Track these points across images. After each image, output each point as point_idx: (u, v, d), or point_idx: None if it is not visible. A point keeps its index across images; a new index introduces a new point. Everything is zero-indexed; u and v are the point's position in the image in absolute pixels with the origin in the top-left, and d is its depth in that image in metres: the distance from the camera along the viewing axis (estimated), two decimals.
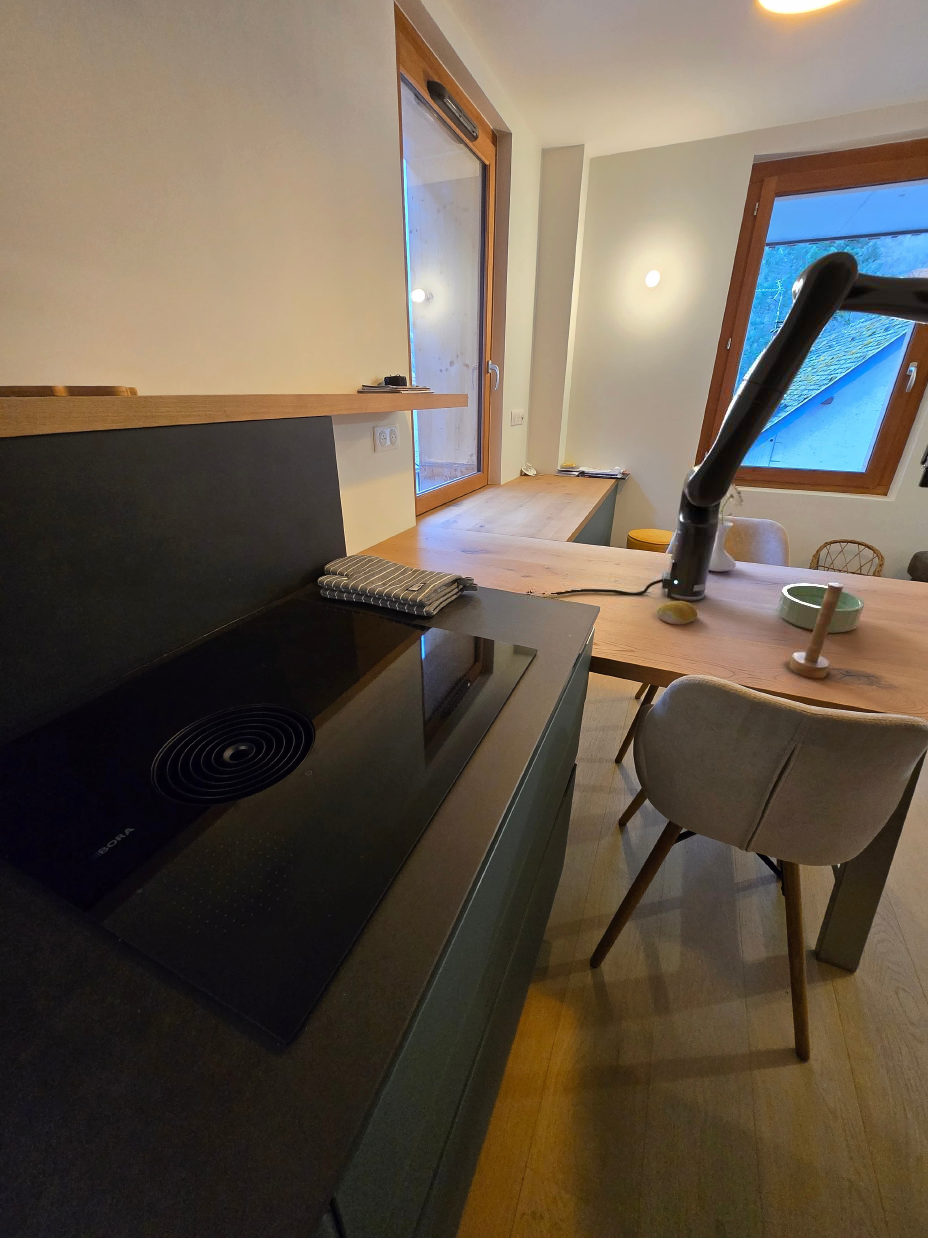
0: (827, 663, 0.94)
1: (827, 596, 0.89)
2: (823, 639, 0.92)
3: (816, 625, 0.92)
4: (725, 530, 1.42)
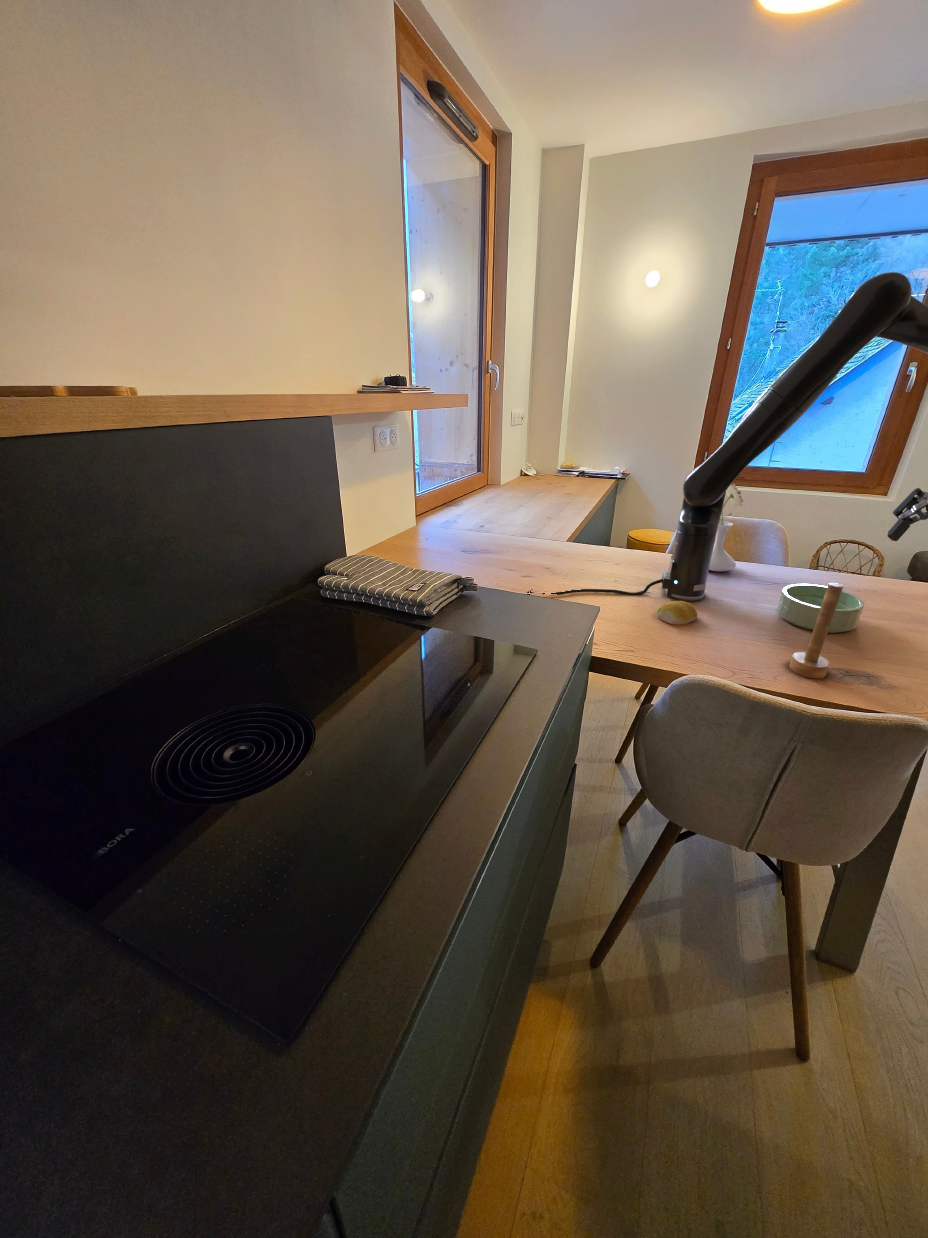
0: (827, 663, 0.94)
1: (827, 596, 0.89)
2: (823, 639, 0.92)
3: (816, 625, 0.92)
4: (725, 530, 1.42)
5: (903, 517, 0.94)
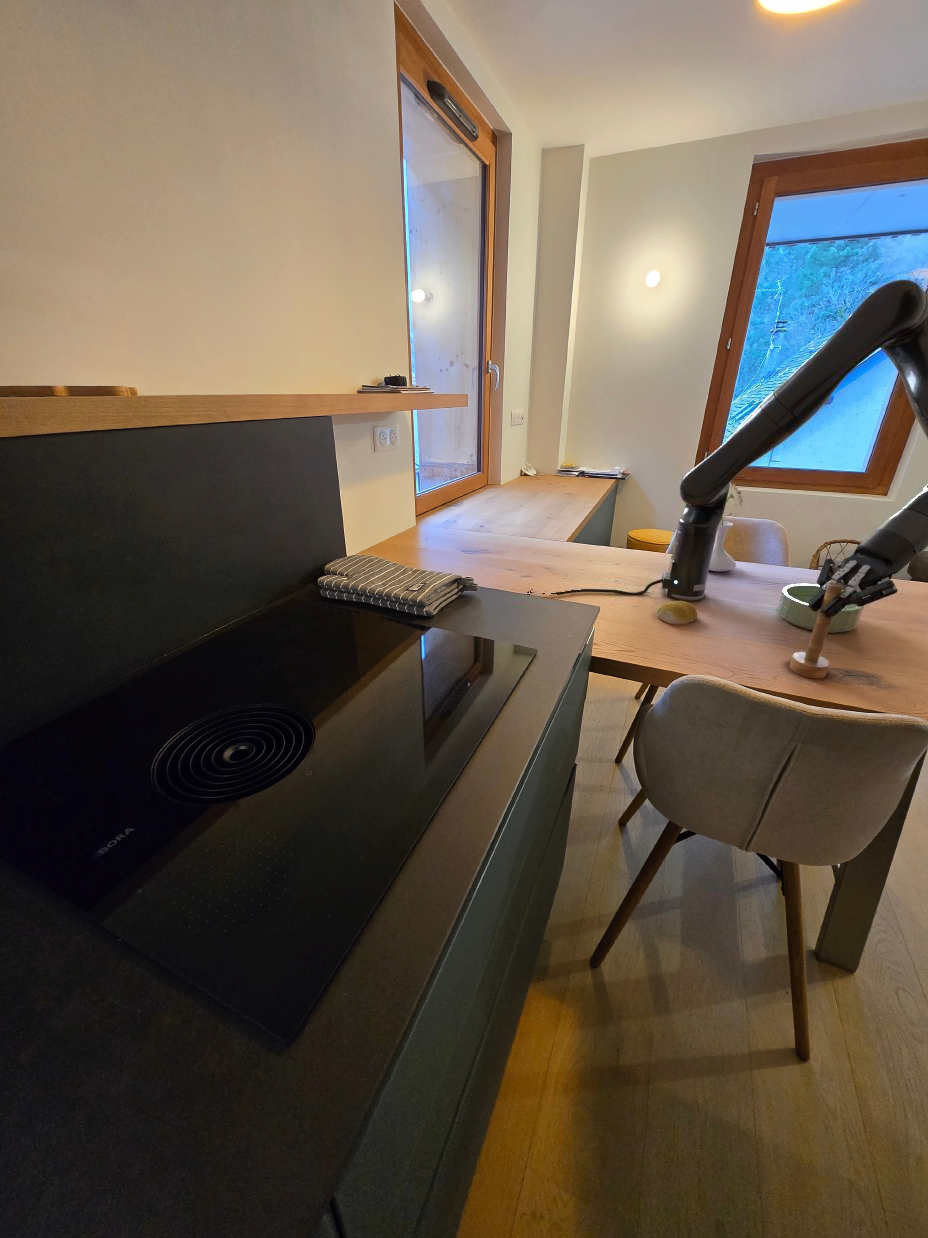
0: (827, 663, 0.94)
1: (827, 596, 0.89)
2: (823, 639, 0.92)
3: (816, 625, 0.92)
4: (725, 530, 1.42)
5: (826, 589, 0.90)
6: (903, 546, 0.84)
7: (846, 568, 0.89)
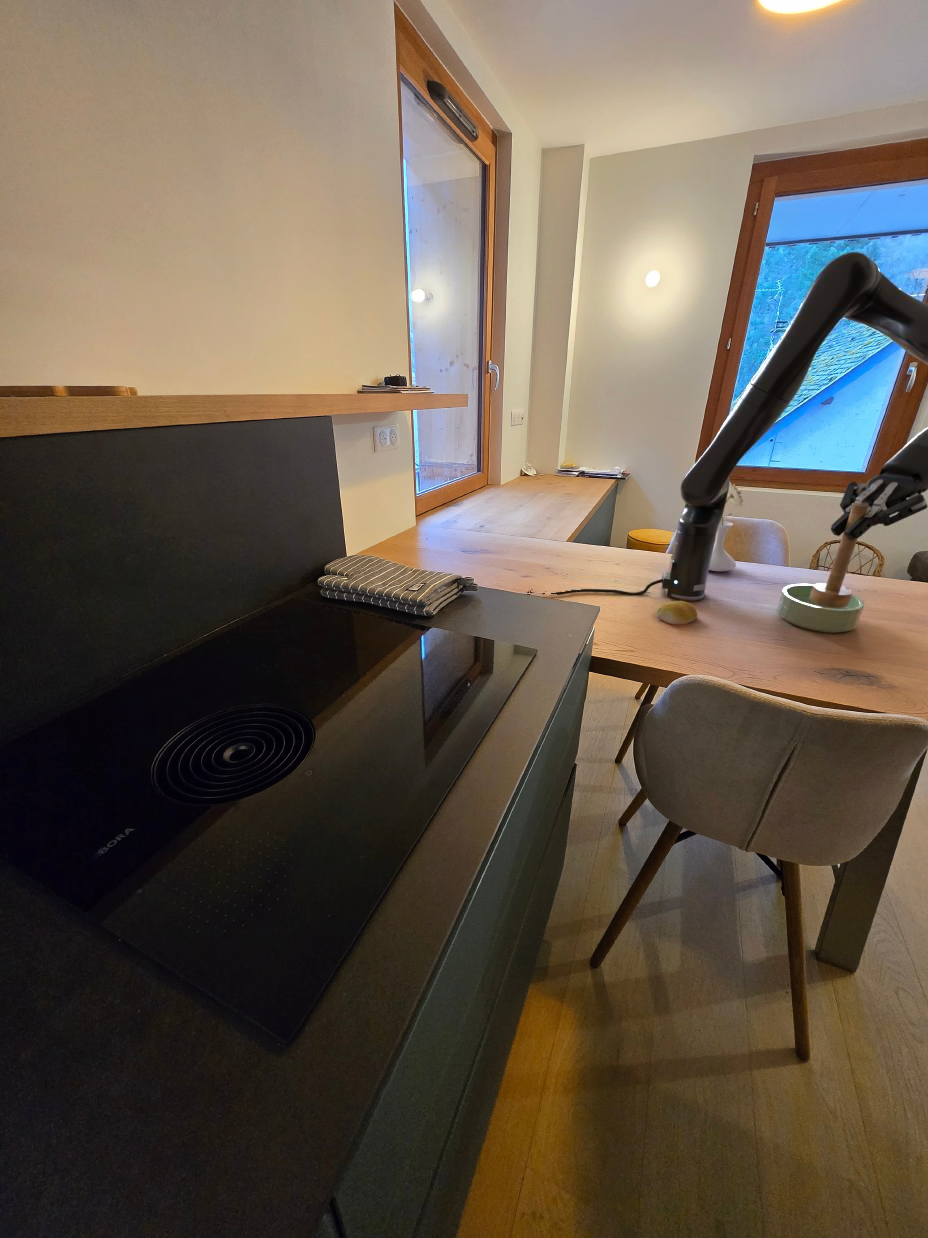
0: (850, 591, 0.89)
1: (851, 517, 0.85)
2: (846, 565, 0.88)
3: (839, 550, 0.88)
4: (725, 530, 1.42)
5: (850, 510, 0.86)
6: None
7: (872, 488, 0.85)
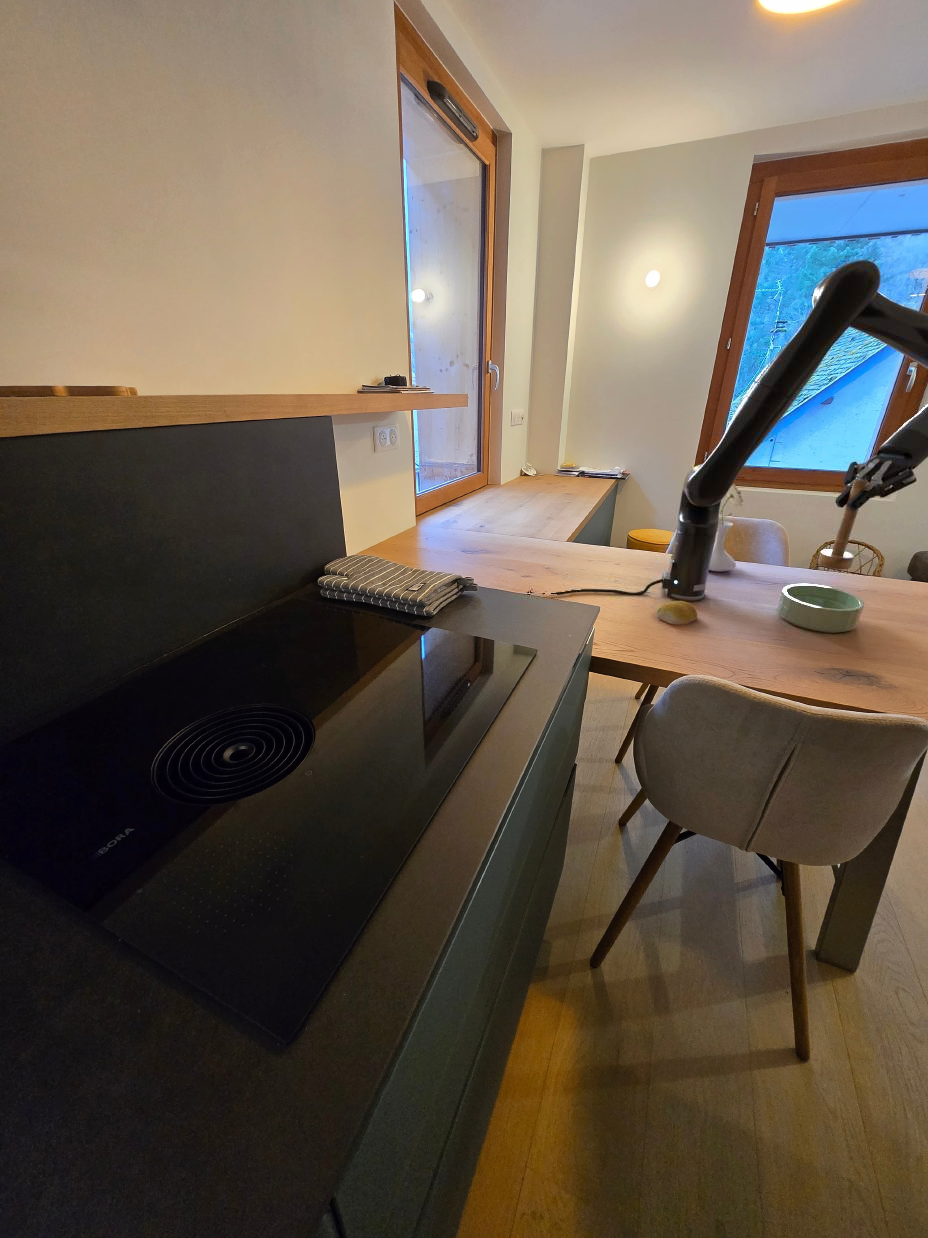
0: (852, 555, 1.04)
1: (853, 491, 1.00)
2: (849, 532, 1.03)
3: (842, 520, 1.03)
4: (725, 530, 1.42)
5: (851, 486, 1.01)
6: (921, 441, 0.95)
7: (870, 466, 1.00)
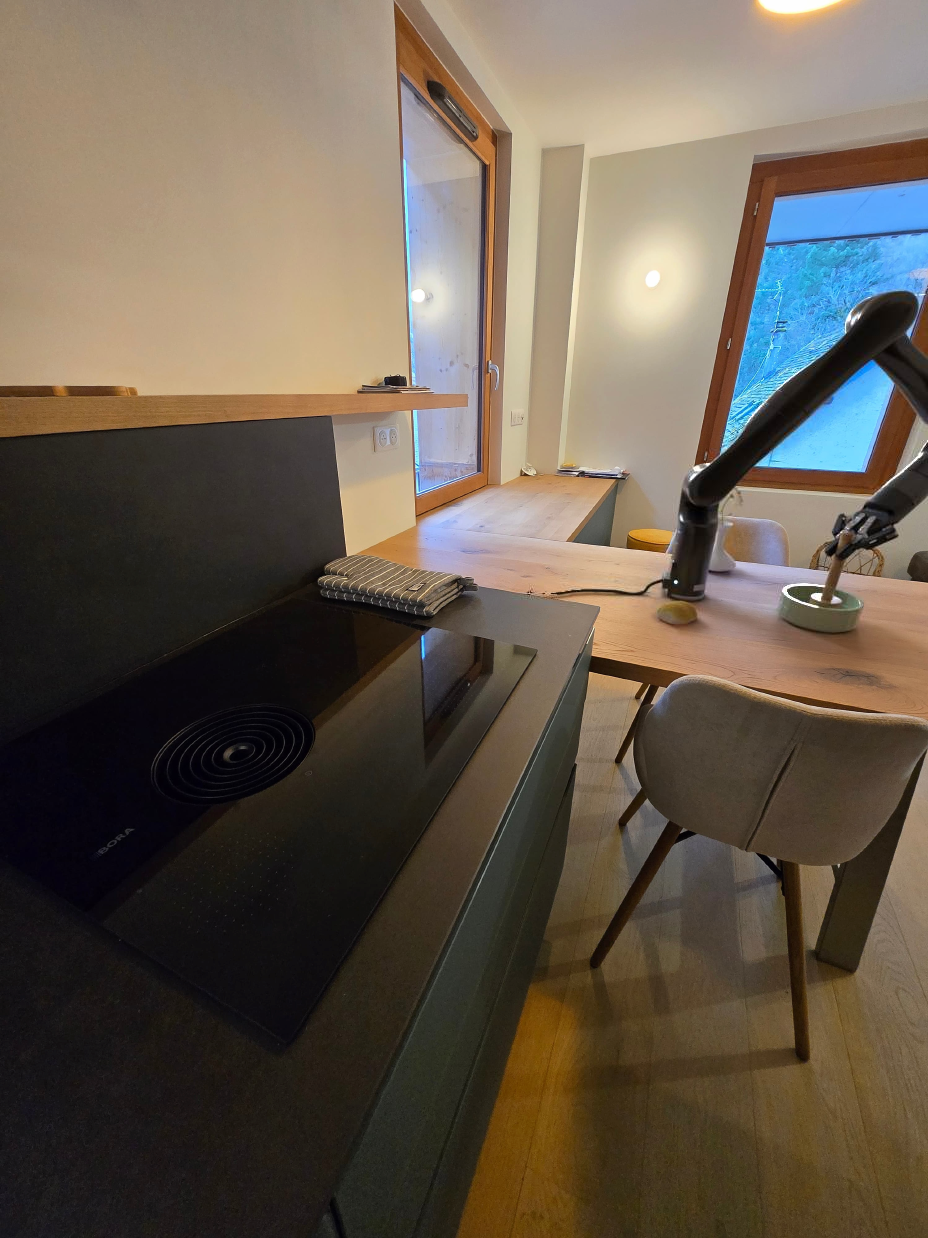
0: (840, 601, 1.12)
1: (840, 543, 1.08)
2: (837, 580, 1.11)
3: (831, 568, 1.11)
4: (725, 530, 1.42)
5: (839, 537, 1.09)
6: (903, 499, 1.03)
7: (856, 520, 1.08)
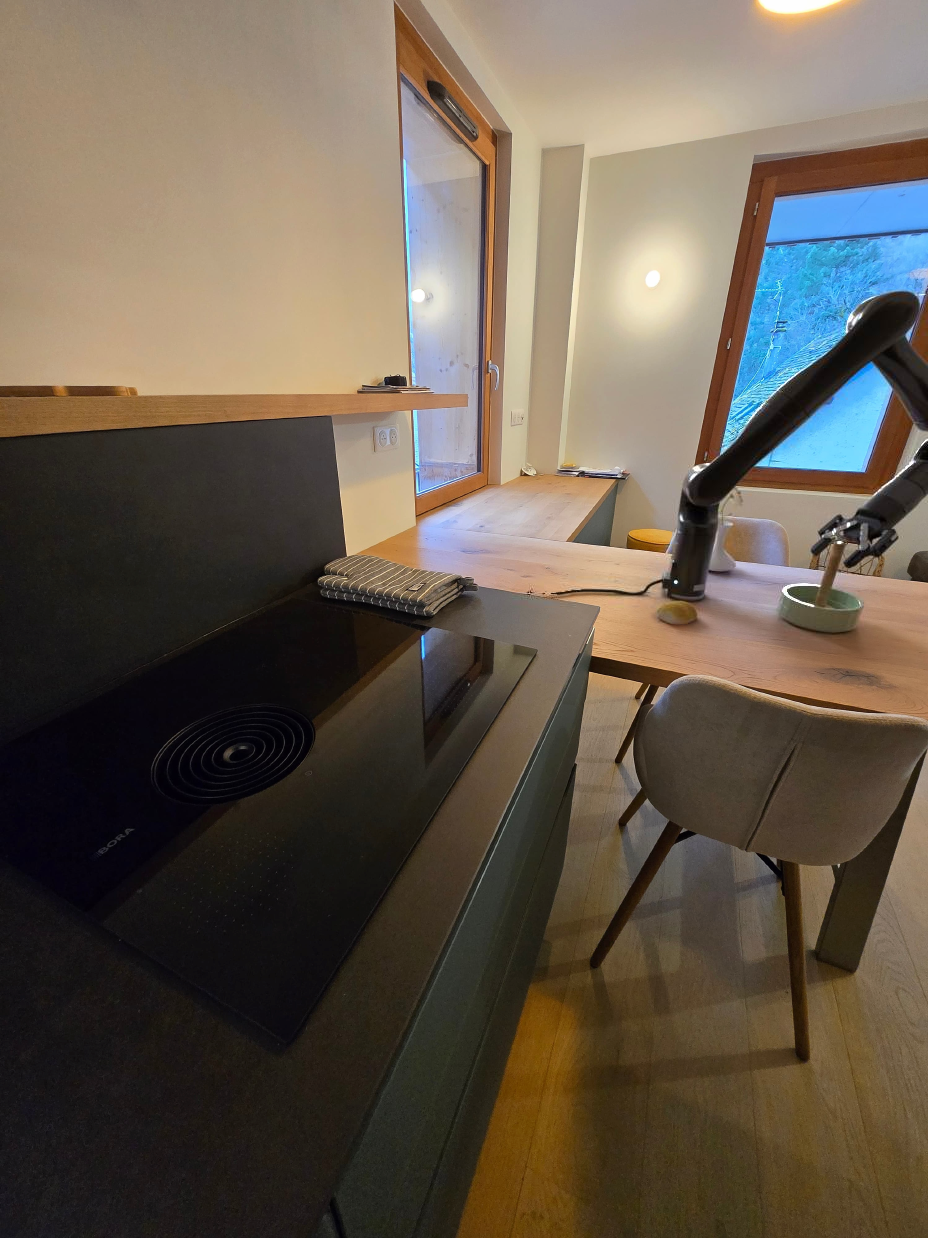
0: None
1: (833, 552, 1.09)
2: (829, 589, 1.12)
3: (823, 577, 1.11)
4: (725, 530, 1.42)
5: (825, 537, 1.12)
6: (895, 507, 1.03)
7: (848, 527, 1.08)
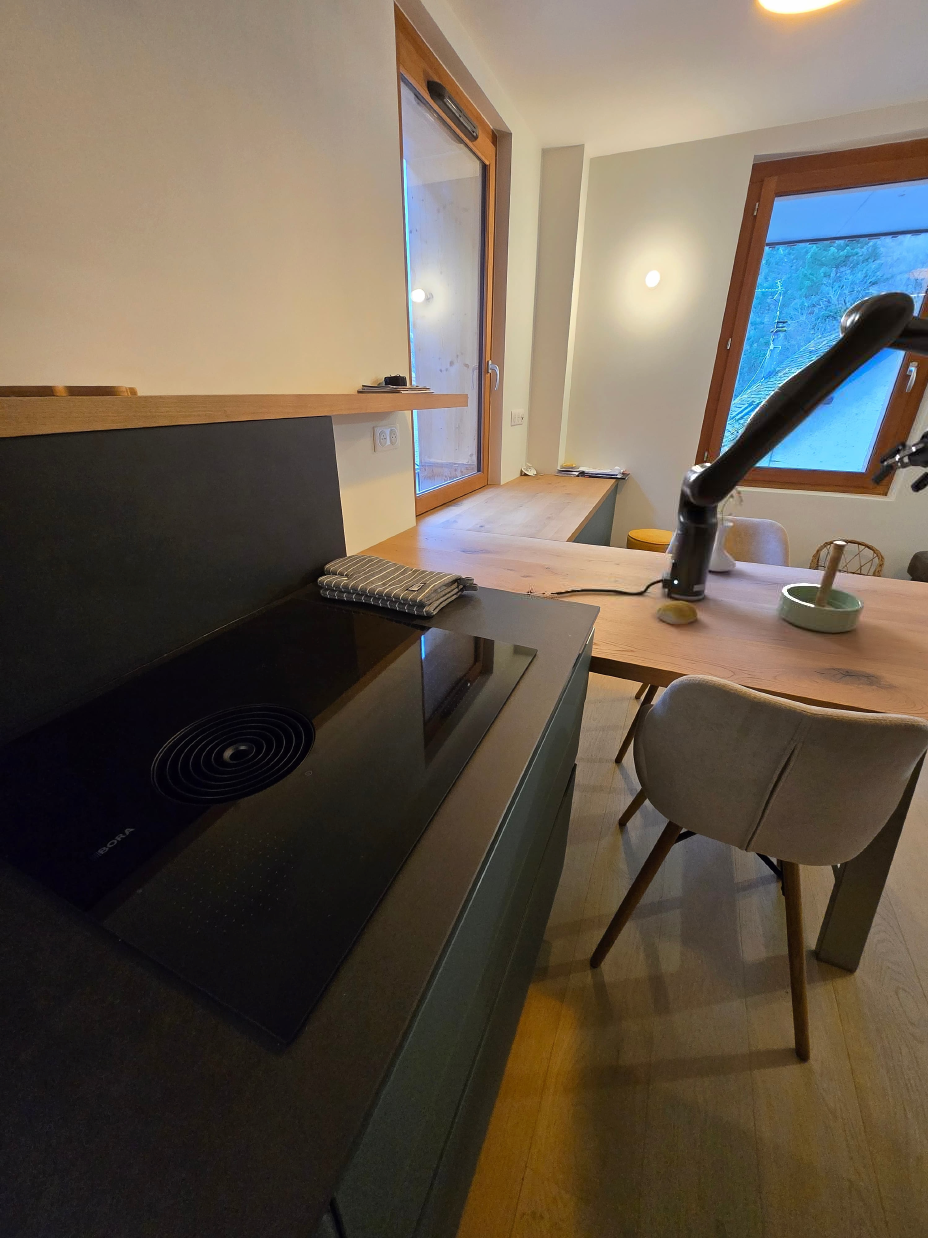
0: None
1: (833, 552, 1.09)
2: (829, 589, 1.12)
3: (823, 577, 1.11)
4: (725, 530, 1.42)
5: (887, 464, 1.07)
6: None
7: (914, 451, 1.03)
